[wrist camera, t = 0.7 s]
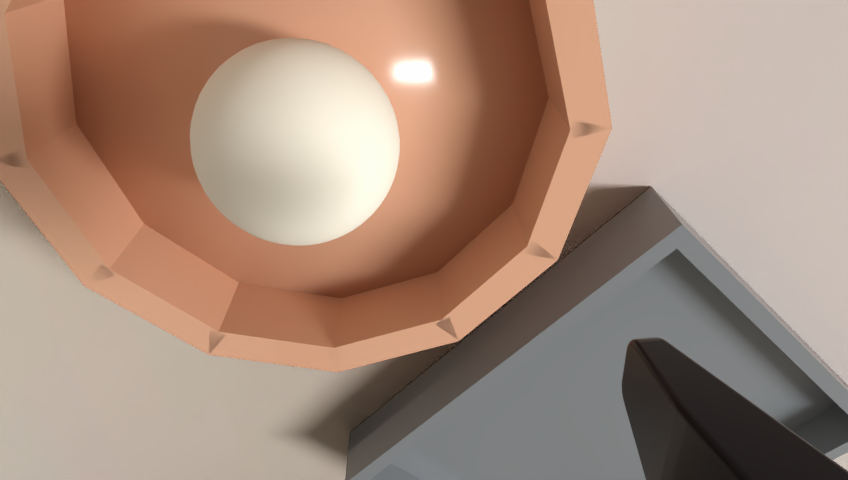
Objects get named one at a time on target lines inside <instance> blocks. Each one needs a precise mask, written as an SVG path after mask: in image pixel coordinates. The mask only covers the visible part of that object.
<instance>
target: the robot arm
mask: <svg viewBox="0 0 848 480" xmlns="http://www.w3.org/2000/svg"><path fill="white" fill-rule="evenodd" d="M622 396H623V400H624V404H625V408H626V411H627V415H628V418H629V422H630V425H631V429H632V432H633V436H634V439H635V443H636V447H637V450H638V454H639V457H640V461H641V464H642V468H643V471H644V475H645V478H646V480H848V471H847V470H845V469H844V468H843V467H841V466H840V465H839V464H837V463H836V462H834V461H833V460H832V459H830V458H829V457H827V456H826V455H825V454H823V453H822V452H820V451H819V450H818V449H816V448H815V447H813V446H812V445H811V444H809V443H808V442H807V441H805V440H804V439H802V438H801V437H800V436H798V435H797V434H795V433H794V432H793V431H791V430H790V429H788V428H787V427H786V426H784V425H783V424H781V423H780V422H779V421H777V420H776V419H774V418H773V417H772V416H770V415H769V414H768V413H766V412H765V411H763V410H762V409H761V408H759V407H758V406H756V405H755V404H754V403H752V402H751V401H749V400H748V399H747V398H745V397H744V396H742V395H741V394H740V393H738V392H737V391H736V390H734V389H733V388H731V387H730V386H729V385H727V384H726V383H724V382H723V381H722V380H720V379H719V378H717V377H716V376H715V375H713V374H712V373H710V372H709V371H708V370H706V369H705V368H703V367H702V366H701V365H699V364H698V363H697V362H695V361H694V360H692V359H691V358H690V357H688V356H687V355H685V354H684V353H683V352H681V351H680V350H678V349H677V348H676V347H674V346H673V345H671V344H670V343H669V342H667V341H666V340H664V339H662V338H658V337H654V338H640V339H633V340H631V341H630V342H629V344H628V346H627V351H626V357H625V364H624V370H623V377H622Z"/></svg>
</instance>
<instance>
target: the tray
mask: <svg viewBox="0 0 848 480" xmlns="http://www.w3.org/2000/svg"><path fill="white" fill-rule="evenodd" d="M654 337H658V338H662V339H664V340H666V341H667V342H669V343H670V344H671V345H673V346H674V347H676V348H677V349H678V350H680V351H681V352H683V353H684V354H685V355H687V356H688V357H690V358H691V359H692V360H694V361H695V362H697V363H698V364H699V365H701V366H702V367H703V368H705V369H706V370H708V371H709V372H710V373H712V374H713V375H715V376H716V377H717V378H719V379H720V380H722V381H723V382H724V383H726V384H727V385H729V386H730V387H731V388H733V389H734V390H736V391H737V392H738V393H740V394H741V395H742V396H744V397H745V398H747V399H748V400H749V401H751V402H752V403H754V404H755V405H756V406H758V407H759V408H761V409H762V410H763V411H765V412H766V413H768V414H769V415H770V416H772V417H773V418H774V419H776V420H777V421H779V422H780V423H781V424H783V425H784V426H786V427H787V428H788V429H790V430H791V431H793V432H794V433H795V434H797V435H798V436H800V437H801V438H802V439H804V440H805V441H807V442H808V443H809V444H811V445H812V446H813V447H815V448H816V449H818V450H819V451H820V452H822V453H823V454H825V455H826V456H827V457H829V458H830V459H832V460H833V459H835V458H837V457H839V456H841V455H843V454H845V453H847V452H848V385H847V384H846V383H845V382H844V381H843V380H842V379H841V378H840V377H839V376H838V375H837V374H836V373H835V372H834V371H833V370H832V369H831V368H830V367H829V366H828V365H827V364H826V363H825V362H824V361H823V360H822V359H821V358H820V357H819V356H818V355H817V354H816V353H815V352H814V351H813V350H812V349H811V348H810V347H809V346H808V345H807V344H806V343H805V342H804V341H803V340H802V339H801V338H800V337H799V336H798V335H797V334H796V333H795V332H794V331H793V330H792V329H791V327H790V326H789V325H788V324H787V323H786V322H785V321H784V320H783V319H782V318H781V317H780V316H779V315H778V314H777V313H776V312H775V311H774V310H773V309H772V308H771V307H770V306H769V305H768V304H767V303H766V302H765V301H764V300H763V299H762V298H761V297H760V296H759V295H758V294H757V293H756V292H755V291H754V290H753V289H752V288H751V287H750V286H749V285H748V284H747V283H746V282H745V281H744V280H743V279H742V278H741V277H740V276H739V275H738V274H737V273H736V272H735V271H734V270H733V269H732V268H731V267H730V266H729V265H728V264H727V263H726V262H725V261H724V260H723V259H722V258H721V257H720V256H719V255H718V254H717V253H716V252H715V251H714V250H713V249H712V248H711V246H710V245H709V244H708V243H707V242H706V241H705V240H704V239H703V238H702V237H701V236H700V235H699V234H698V233H697V232H696V231H695V230H694V229H693V228H692V227H691V226H690V225H689V224H688V223H687V222H686V221H685V220H684V219H683V218H682V217H681V216H680V215H679V214H678V213H677V212H676V211H675V210H674V209H673V208H672V207H671V206H670V205H669V204H668V203H667V202H666V201H665V200H664V199H663V198H662V197H661V196H660V195H659V194H658V193H657V192H656V191H655V190H654V189H653V188H652V187H650V188H649V189H647V190H646V191H645V192H644V193H642V194H641V195H640V196H639V197H638V198H636V199H635V200H634V201H633V202H631V203H630V204H629V205H628V206H627V207H625V208H624V209H623V210H622V211H620V212H619V213H618V214H617V215H616V216H614V217H613V218H612V219H611V220H609V221H608V222H607V223H606V224H605V225H603V226H602V227H601V228H600V229H598V230H597V231H596V232H595V233H594V234H592V235H591V236H590V237H589V238H587V239H586V240H585V241H584V242H583V243H581V244H580V245H579V246H578V247H576V248H575V249H574V250H573V251H572V252H570V253H569V254H568V255H567V256H565V257H564V258H563V259H562V260H561V261H559V262H558V263H557V264H556V265H554V266H553V267H552V268H551V269H550V270H548V271H547V272H546V273H545V274H543V275H542V276H541V277H540V278H539V279H537V280H536V281H535V282H534V283H532V284H531V285H530V286H529V287H528V288H526V289H525V290H524V291H523V292H521V293H520V294H519V295H518V296H516V297H515V298H514V299H513V300H512V301H510V302H509V303H508V304H507V305H505V306H504V307H503V308H502V309H501V310H499V311H498V312H497V313H496V314H494V315H493V316H492V317H491V318H490V319H488V320H487V321H486V322H485V323H483V324H482V325H481V326H480V327H479V328H477V329H476V330H475V331H474V332H472V333H471V334H470V335H469V336H468V337H466V338H465V339H464V340H463V341H461V342H460V343H459V344H458V345H457V346H455V347H454V348H453V349H452V350H450V351H449V352H448V353H447V354H446V355H444V356H443V357H442V358H441V359H439V360H438V361H437V362H436V363H435V364H433V365H432V366H431V367H430V368H428V369H427V370H426V371H425V372H424V373H422V374H421V375H420V376H419V377H417V378H416V379H415V380H414V381H413V382H411V383H410V384H409V385H408V386H406V387H405V388H404V389H403V390H402V391H400V392H399V393H398V394H397V395H395V396H394V397H393V398H392V399H390V400H389V401H388V402H387V403H386V404H384V405H383V406H382V407H381V408H379V409H378V410H377V411H376V412H375V413H373V414H372V415H371V416H370V417H368V418H367V419H366V420H365V421H364V422H362V423H361V424H360V425H359V426H357V427H356V428H355V429H354V430H353V431H351V432H350V438H349V448H348V458H347V468H346V478H345V480H646V478H645V475H644V471H643V468H642V464H641V461H640V457H639V454H638V450H637V447H636V443H635V439H634V436H633V432H632V429H631V425H630V422H629V418H628V415H627V411H626V408H625V404H624V400H623V396H622V377H623V370H624V364H625V357H626V351H627V346H628V344H629V342H630V341H631V340H633V339H640V338H654Z"/></svg>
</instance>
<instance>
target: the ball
mask: <svg viewBox="0 0 848 480" xmlns="http://www.w3.org/2000/svg"><path fill="white" fill-rule="evenodd" d="M190 148H191V156H192V161H193V166H194V169H195V172H196V174H197V177H198V179H199V182H200V184H201V186H202V187H203V189H204V191H205V193H206V195H207V196H208V198H209V199H210V201H211V202H212V203H213V205H214V206H215V207H216V208H217V209H218V210H219V212H221V213H222V214H223V215H224V216H225V217H226V218H227V219H228V220H229V221H231V222H232V223H233V224H235V225H236V226H237V227H239V228H241V229H242V230H244V231H246V232H247V233H249V234H251V235H253V236H256V237H258V238H260V239H263V240H266V241H269V242H274V243H278V244H284V245H295V246H305V245H314V244H320V243H324V242H328V241H331V240H333V239H336V238H339V237H341V236H343V235H345V234H347V233H349V232H351V231H353V230H354V229H356V228H357V227H359V226H360V225H361V224H362V223H364V222H365V221H366V220H367V219H368V218H369V217H370V216H371V215H372V214H373V213H374V212H375V211H376V210H377V209H378V207H379V206H380V205H381V203H382V202H383V200H384V199H385V197H386V196H387V194H388V192H389V190H390V188H391V185H392V183H393V181H394V178H395V174H396V171H397V167H398V161H399V153H400V138H399V131H398V124H397V120H396V116H395V113H394V109H393V107H392V105H391V102H390V100H389V98H388V96H387V95H386V93H385V91H384V90H383V88H382V86H381V85H380V83H379V82H378V81H377V80H376V78H375V77H374V76H373V75H372V73H371V72H370V71H369V70H368V69H367V68H366V67H365V66H364V65H363V64H361V63H360V62H359V61H357V60H356V59H355V58H353V57H352V56H351V55H349V54H347V53H345V52H344V51H342V50H340V49H338V48H336V47H333V46H331V45H329V44H326V43H323V42H319V41H316V40H311V39H304V38H280V39H272V40H267V41H263V42H260V43H256V44H254V45H252V46H249V47H247V48H245V49H243V50H241V51H240V52H238V53H236V54H235V55H233V56H232V57H230V58H229V59H227V60H226V61H225V62H224V63H223V64H222V65H221V66H219V67H218V68H217V70H216V71H215V72H214V73H213V74H212V76H211V77H210V78H209V79H208V81H207V82H206V84H205V86H204V87H203V89H202V91H201V92H200V94H199V97H198V99H197V102H196V104H195V108H194V111H193V116H192V120H191V126H190Z"/></svg>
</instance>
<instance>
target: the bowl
mask: <svg viewBox="0 0 848 480" xmlns="http://www.w3.org/2000/svg"><path fill="white" fill-rule="evenodd" d="M280 38H304V39H311V40H316V41H319V42H323V43H326V44H329V45H331V46H333V47H336V48H338V49H340V50H342V51H344V52H345V53H347V54H349V55H351V56H352V57H353V58H355V59H356V60H357V61H359V62H360V63H361V64H363V65H364V66H365V67H366V68H367V69H368V70H369V71H370V72H371V73H372V75H373V76H374V77H375V78H376V80H377V81H378V82H379V83H380V85H381V86H382V88H383V90H384V91H385V93H386V95H387V96H388V98H389V100H390V102H391V105H392V107H393V109H394V113H395V116H396V120H397V124H398V131H399V138H400V153H399V161H398V167H397V171H396V174H395V178H394V181H393V183H392V185H391V188H390V190H389V192H388V194H387V196H386V197H385V199H384V200H383V202H382V203H381V205H380V206H379V207H378V209H377V210H376V211H375V212H374V213H373V214H372V215H371V216H370V217H369V218H368V219H367V220H366V221H365V222H364V223H362V224H361V225H360V226H359V227H357V228H356V229H354V230H353V231H351V232H349V233H347V234H345V235H343V236H341V237H339V238H336V239H333V240H331V241H328V242H324V243H320V244H314V245H305V246H295V245H284V244H278V243H274V242H269V241H266V240H263V239H260V238H258V237H256V236H253V235H251V234H249V233H247V232H246V231H244V230H242V229H241V228H239V227H237V226H236V225H235V224H233V223H232V222H231V221H229V220H228V219H227V218H226V217H225V216H224V215H223V214H222V213H221V212H219V210H218V209H217V208H216V207H215V206H214V205H213V203H212V202H211V201H210V199H209V198H208V196H207V195H206V193H205V191H204V189H203V187H202V186H201V184H200V182H199V179H198V177H197V174H196V172H195V169H194V166H193V161H192V156H191V148H190V126H191V120H192V116H193V111H194V108H195V104H196V102H197V99H198V97H199V94H200V92H201V91H202V89H203V87H204V86H205V84H206V82H207V81H208V79H209V78H210V77H211V76H212V74H213V73H214V72H215V71H216V70H217V68H218V67H219V66H221V65H222V64H223V63H224V62H225V61H226V60H227V59H229V58H230V57H232V56H233V55H235V54H236V53H238V52H240V51H241V50H243V49H245V48H247V47H249V46H252V45H254V44H256V43H260V42H263V41H267V40H272V39H280ZM611 129H612V124H611V117H610V110H609V104H608V97H607V90H606V83H605V77H604V70H603V63H602V56H601V50H600V43H599V36H598V29H597V22H596V16H595V9H594V2H593V0H0V181H1V182H2V183H3V185H4V186H5V187H6V188H7V190H8V191H9V192H10V193H11V195H12V196H13V197H14V198H15V200H16V201H17V202H18V203H19V205H20V206H21V207H22V209H23V210H24V211H25V212H26V214H27V215H28V216H29V217H30V219H31V220H32V221H33V222H34V224H35V225H36V226H37V227H38V229H39V230H40V231H41V232H42V234H43V235H44V236H45V237H46V239H47V240H48V241H49V242H50V244H51V245H52V246H53V248H54V249H55V250H56V251H57V253H58V254H59V255H60V256H61V258H62V259H63V260H64V261H65V263H66V264H67V265H68V266H69V268H70V269H71V270H72V271H73V273H74V274H75V275H76V276H77V278H78V279H79V280H80V282H81V283H82V284H83V285H84V286H85V287H87V288H89V289H91V290H92V291H94V292H96V293H98V294H100V295H102V296H103V297H105V298H107V299H109V300H111V301H112V302H114V303H116V304H118V305H120V306H121V307H123V308H125V309H127V310H129V311H130V312H132V313H134V314H136V315H138V316H140V317H141V318H143V319H145V320H147V321H149V322H150V323H152V324H154V325H156V326H158V327H159V328H161V329H163V330H165V331H167V332H169V333H170V334H172V335H174V336H176V337H178V338H179V339H181V340H183V341H185V342H187V343H188V344H190V345H192V346H194V347H196V348H197V349H199V350H201V351H203V352H205V353H207V354H209V355H215V356H222V357H230V358H237V359H244V360H252V361H259V362H266V363H274V364H281V365H288V366H296V367H303V368H311V369H318V370H325V371H333V372H341V371H345V370H349V369H353V368H356V367H360V366H364V365H368V364H372V363H376V362H380V361H384V360H387V359H391V358H395V357H399V356H403V355H407V354H411V353H415V352H419V351H422V350H426V349H430V348H434V347H438V346H442V345H446V344H450V343H454V342H457V341H460V340H461V339H462V338H463V337H465V336H466V335H467V334H468V333H469V332H471V331H472V330H473V329H474V328H476V327H477V326H478V325H479V324H480V323H482V322H483V321H484V320H485V319H487V318H488V317H489V316H490V315H491V314H493V313H494V312H495V311H496V310H498V309H499V308H500V307H501V306H502V305H504V304H505V303H506V302H507V301H509V300H510V299H511V298H512V297H513V296H515V295H516V294H517V293H518V292H519V291H521V290H522V289H523V288H524V287H526V286H527V285H528V284H529V283H530V282H532V281H533V280H534V279H535V278H537V277H538V276H539V275H540V274H541V273H543V272H544V271H545V270H546V269H548V268H549V267H550V266H551V265H552V264H554V263H555V262H556V261H557V260H558V258H559V256H560V253H561V251H562V249H563V246H564V244H565V241H566V239H567V236H568V234H569V232H570V229H571V227H572V224H573V222H574V219H575V217H576V215H577V212H578V210H579V207H580V205H581V202H582V200H583V197H584V195H585V193H586V190H587V188H588V185H589V183H590V180H591V178H592V176H593V173H594V171H595V168H596V166H597V163H598V161H599V158H600V156H601V154H602V151H603V149H604V146H605V144H606V141H607V139H608V137H609V134H610V132H611Z"/></svg>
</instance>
